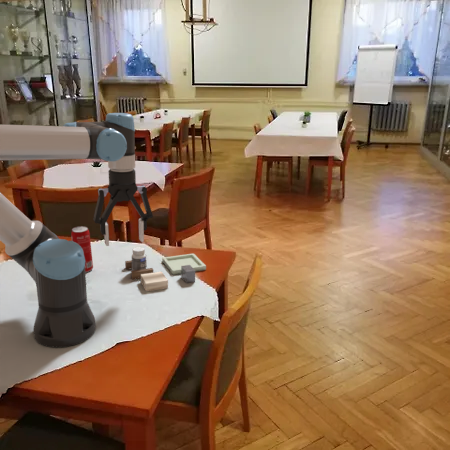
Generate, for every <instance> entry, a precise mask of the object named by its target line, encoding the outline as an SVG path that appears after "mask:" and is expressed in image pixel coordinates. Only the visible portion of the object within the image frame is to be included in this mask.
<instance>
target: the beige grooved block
mask: <svg viewBox="0 0 450 450" xmlns="http://www.w3.org/2000/svg"><path fill="white" fill-rule="evenodd" d="M140 283H141V286H143V288H144V290H145V291H146V292H152V291H157V290H163V289H164V290H165V289H169V280H168V279H167V277H166V275H165V273H163V271H158V272H157V271H156V272H153V273H147V274H141V279H140Z"/></svg>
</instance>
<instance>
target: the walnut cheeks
mask: <svg viewBox="0 0 450 450" xmlns="http://www.w3.org/2000/svg"><path fill="white" fill-rule="evenodd" d="M124 264H125V267H124V268H125V269H126V270H131V271H130V272H131V279H132V281H133V280H134V281H135V280H139V279H140V280H141V274H147V273H154V268H153V267H149V268H147V266H148V265H146V269H141V270H134V271H132V259H130V260H125V262H124Z"/></svg>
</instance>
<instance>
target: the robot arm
mask: <svg viewBox="0 0 450 450" xmlns="http://www.w3.org/2000/svg"><path fill="white" fill-rule="evenodd" d="M134 120H135V119H134V116H133V115H132V114H131V113H126V112H112V113H111V112H109V113H107V114H106V115H105V120H103V121H74V122H66V123H64V124H63V125H62V126H60V125H58V126H57V125H25V124H0V161H22V160H23V161H25V160H26V161H28V160H31V161H35V160H37V161H39V160H41V161H42V160H82V159H83V160H102V161H105V162H107V167H108V169H109V170H108V186H107V187H106V188H101V187H99V188H98V189H97V193H98V196H97V201H96V205H95V208H94V209H95V210H94V214H93V220H92V221H94V223H95V224H99V226H100V227H99V229H100V230H99V231H100V233H101V235H103V236H104V238H103V239H104V244H105V246H106V247H109V246H110V239H109V238H110V237H109V223H108V222H107V221H108V219H109V218H110V216H111V213H112V212H113V209H114V207H115V206H116V205H117V203H118V202H119V203H120V202H121V203H122V202H124V201H125V202H131V204H132V205H133V207H134V209H135V210H136V211H137V213H138V215H139V216H140V218H138V240H139V241H140V242H141V243H143V242H145V236H144V235H145V233H144V232H145V231H147V228H148V225H147V223H148V220H149V219H153V216H154V215H153V211H152V208H151V206H150V202H149V198H148V195H147V192H148V188H147V187H146V186H145V185H141V186H140V185H137V183H136V182H137V181H136V174H137V173H136V170H135V168H136V150H135V149H136V148H135V147H136V146H135V145H136V143H135V132H136V129H135V122H134ZM137 192H138V193H139V194H140V197H141V200H142V203H143V206H144V210H145V213H144V211H143V210H142V207H141V206H140V204H139V203H138V202H137V200H136V198H135V194H136V193H137ZM108 193H109V194H110V198H109V200H108V203H107V205H106V207H105V208H104V211H103V213H102V210H103V206H104V202H105V197H106V196H107V194H108ZM0 242H1V243H3V244H4V245H5V248H4V251H5V254H6V255H7V256H9V257H10V258H11V259H12V260H13V261H15V262H16V263H17V264H18V265H19V266H20V267H21V268H22V269H24V270H25V272H27V274H28V275H29V276H30V277H31V279H32V280H33V281H34V283H35V284H36V295H37V302H38V303H37V304H38V305H37V306H38V308H37V312H36V316H35V320H34V324H33V338H34V340H35V341H36V342H37V343H38V344H39V345H42V346H45V347H49V348H66V347H71V346H75V345H78V344H80V343H83V342H85V341H86V340H88V339H90V338H91V337H92V336H93V335H94V333H95V332H96V328H97V326H96V325H97V324H96V317H95V316H94V313H93V311H92V309H91V307H90V304H89V303H88V296H87V279H86V276H87V275H86V272H85V257H84V252H83V249H82V248H81V246H80V245H79V244H77V243H76V242H73V241H72V240H67V239H65V238H64V239H63V238H59V237H58V236H57V235H56V234H55V233H54V232H52V231H51V230H50V229H49V228H48V227H47V226H46V225H45V224H43V222H41V221H40V220H31V219H30V218H29V217H27V215H25V214H24V212H22V211H21V210H20V209H19V208H18V207H16V205H15V204H13V203H12V202H11V201H10V200H9V199H8V198H7V197H6V196H5V195H4V194H3V193H2V192H0Z"/></svg>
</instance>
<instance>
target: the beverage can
mask: <svg viewBox="0 0 450 450" xmlns="http://www.w3.org/2000/svg"><path fill="white" fill-rule="evenodd" d="M70 235H71V241H73V242H76V243H77V244H79V245H80V246H81V248H82V249H83V252H84V257H85V273H88V272H91V271H92V270H93V269H94V263H93V253H92V244H91V233H90V230H89V228H88V227H87V226H83V225H79V226H78V225H77V226H75V227H73V228H72V229H71V234H70Z"/></svg>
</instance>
